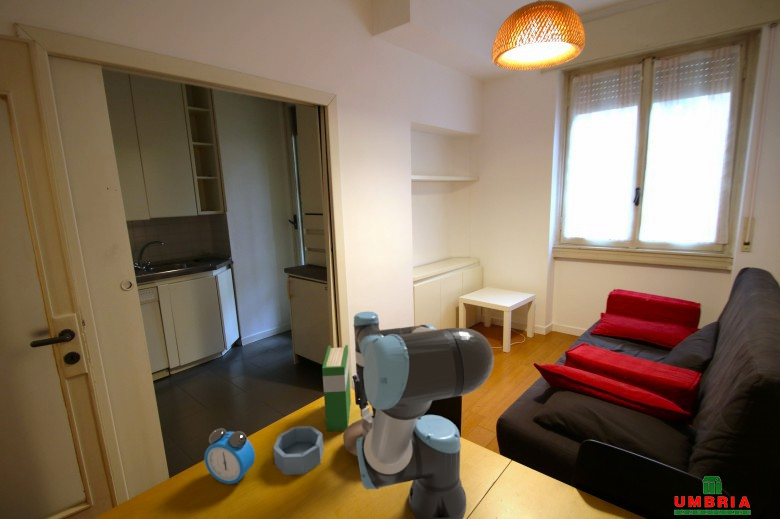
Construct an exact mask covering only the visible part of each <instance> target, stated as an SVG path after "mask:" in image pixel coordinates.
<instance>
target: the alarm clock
mask: <svg viewBox="0 0 780 519" xmlns="http://www.w3.org/2000/svg"><path fill="white" fill-rule="evenodd" d="M208 442H209V444H210V445H209V446H208V447H207V448H206V450H205V452H204V457H203V458H204V464H205V467H206V469H207V471H208V472H209V474H210V475H211V476H212V477H213V478H214V479H215V480H216V481H219V482H221V483H223V484H227V485H232V484H233V485H234V484H236V485H237V486H238V485H239V481H241V479H243V477H244V476H245V475H246V474H247V472H249V470H250V469H251V468H252V466H253V464H254V463H255V460H256V454H255V450H254V447H253V445H252V443H251V442H250V440H249V439H248V438H247V435H246V434H245V432H243V431H239V430H238V431H227V430H226V429H225V428H222V427H221V428H217V429H214V430H213V431H212V432H211V433H210V435H209V437H208Z"/></svg>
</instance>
